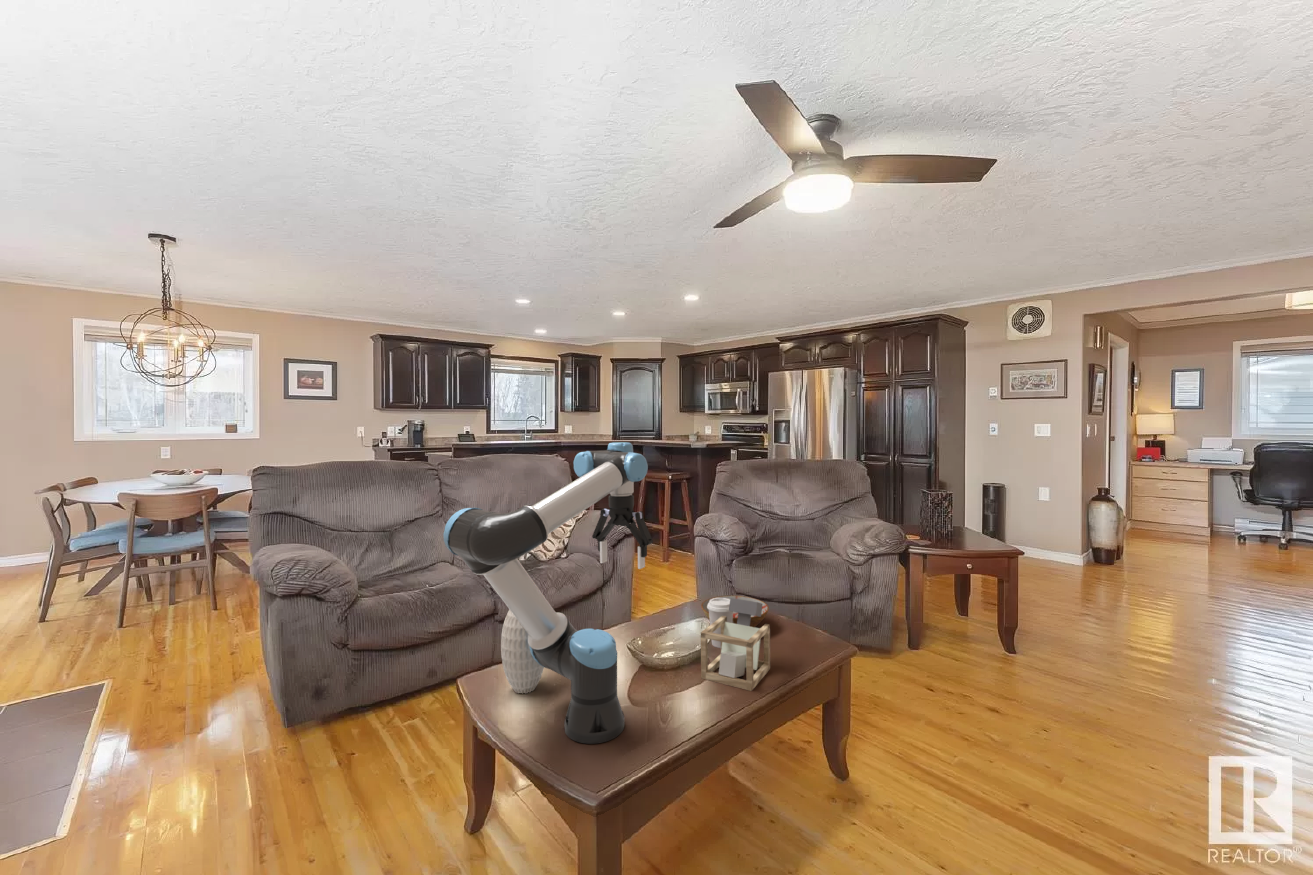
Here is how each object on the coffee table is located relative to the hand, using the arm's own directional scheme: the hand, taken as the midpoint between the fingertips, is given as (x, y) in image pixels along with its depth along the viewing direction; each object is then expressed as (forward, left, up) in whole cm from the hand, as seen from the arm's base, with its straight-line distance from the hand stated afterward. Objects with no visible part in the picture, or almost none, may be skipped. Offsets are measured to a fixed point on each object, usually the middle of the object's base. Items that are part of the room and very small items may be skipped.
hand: (622, 565), depth 165 cm
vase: (-19, +22, -35) cm, 45 cm away
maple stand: (+20, -28, -35) cm, 49 cm away
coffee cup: (+38, -15, -35) cm, 54 cm away
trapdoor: (+27, -28, -25) cm, 46 cm away
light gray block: (+21, -28, -32) cm, 47 cm away
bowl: (+55, -13, -35) cm, 66 cm away
